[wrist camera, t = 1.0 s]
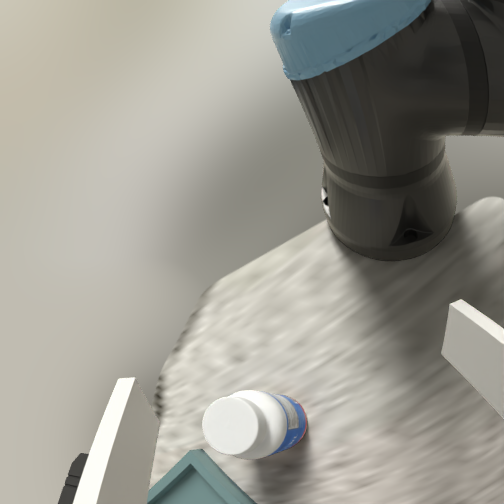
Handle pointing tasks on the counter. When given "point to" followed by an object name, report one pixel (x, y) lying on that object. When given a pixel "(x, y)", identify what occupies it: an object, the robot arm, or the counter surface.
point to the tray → (197, 484)
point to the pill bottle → (254, 424)
